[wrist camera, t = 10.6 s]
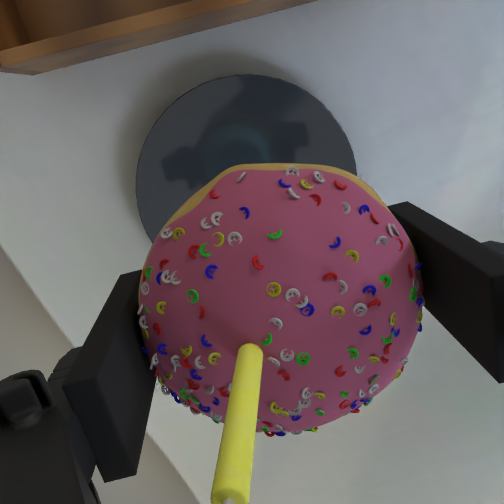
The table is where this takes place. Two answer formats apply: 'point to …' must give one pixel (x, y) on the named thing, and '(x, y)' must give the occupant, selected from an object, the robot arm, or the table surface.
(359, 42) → the table surface
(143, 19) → the wooden box
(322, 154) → the plate
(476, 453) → the table surface
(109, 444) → the robot arm
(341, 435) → the table surface
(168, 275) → the cupcake
